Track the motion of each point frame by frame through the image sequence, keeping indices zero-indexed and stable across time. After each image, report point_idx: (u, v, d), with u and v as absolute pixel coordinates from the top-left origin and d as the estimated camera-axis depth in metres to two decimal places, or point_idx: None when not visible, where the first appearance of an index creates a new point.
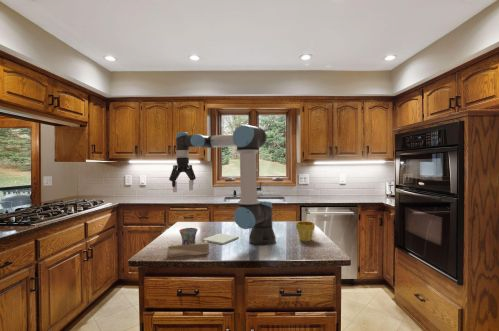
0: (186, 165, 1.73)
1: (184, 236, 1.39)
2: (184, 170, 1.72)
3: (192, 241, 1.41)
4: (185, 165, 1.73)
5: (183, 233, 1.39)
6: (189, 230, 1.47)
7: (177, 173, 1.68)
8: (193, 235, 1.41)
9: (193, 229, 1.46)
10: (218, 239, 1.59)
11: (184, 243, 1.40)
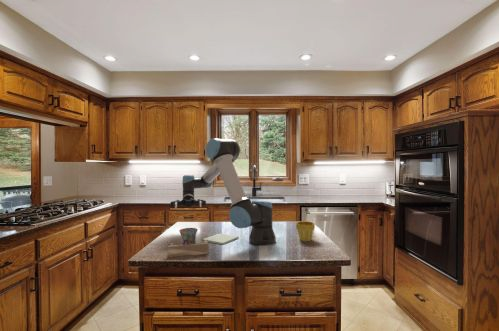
0: None
1: (184, 236, 1.39)
2: (189, 200, 1.66)
3: (192, 241, 1.41)
4: (190, 199, 1.70)
5: (183, 233, 1.39)
6: (189, 230, 1.47)
7: None
8: (193, 235, 1.41)
9: (193, 229, 1.46)
10: (218, 239, 1.59)
11: (184, 243, 1.40)
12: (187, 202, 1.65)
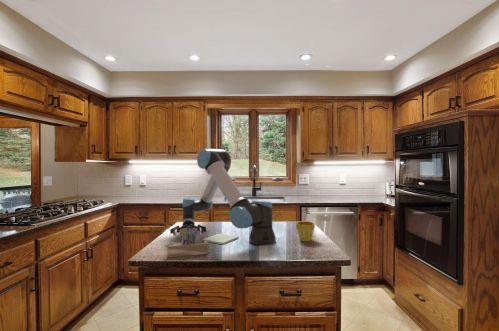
0: (191, 225, 1.68)
1: (184, 236, 1.39)
2: (189, 226, 1.64)
3: (192, 241, 1.41)
4: None
5: (183, 233, 1.39)
6: (189, 230, 1.47)
7: (179, 228, 1.62)
8: (193, 235, 1.41)
9: (193, 229, 1.46)
10: (218, 239, 1.59)
11: (184, 243, 1.40)
12: None
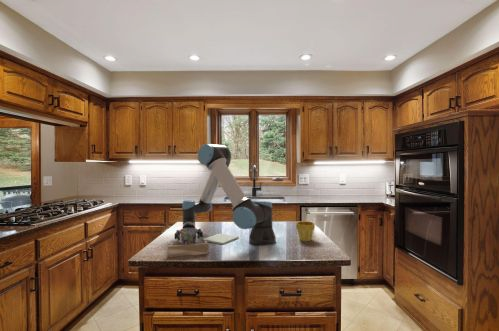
0: None
1: (184, 236, 1.39)
2: None
3: (192, 241, 1.41)
4: None
5: (183, 233, 1.39)
6: (189, 230, 1.47)
7: None
8: (193, 235, 1.41)
9: (193, 229, 1.46)
10: (218, 239, 1.59)
11: (184, 243, 1.40)
12: None
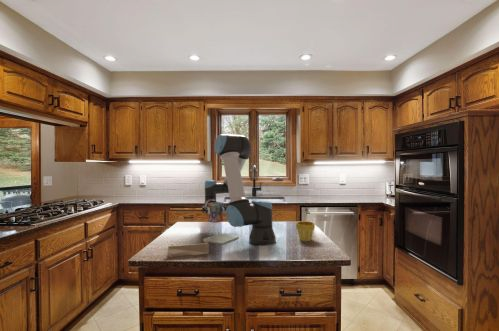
0: None
1: (212, 208, 1.55)
2: None
3: (219, 213, 1.56)
4: None
5: (212, 206, 1.54)
6: None
7: (207, 207, 1.65)
8: (220, 208, 1.56)
9: (219, 203, 1.62)
10: (218, 239, 1.59)
11: (212, 215, 1.55)
12: None
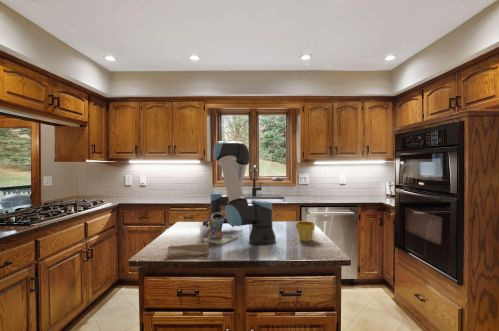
0: None
1: (213, 224, 1.58)
2: None
3: (219, 229, 1.59)
4: None
5: (212, 221, 1.58)
6: None
7: None
8: (221, 224, 1.60)
9: (220, 219, 1.65)
10: (218, 239, 1.59)
11: (212, 230, 1.59)
12: None
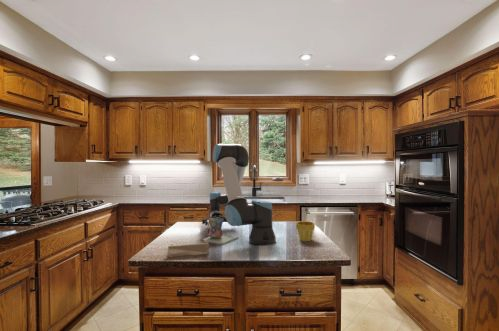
0: None
1: (212, 223, 1.59)
2: (218, 217, 1.76)
3: (219, 228, 1.60)
4: (219, 216, 1.79)
5: (212, 220, 1.59)
6: None
7: None
8: (220, 223, 1.60)
9: None
10: (218, 239, 1.59)
11: (212, 229, 1.59)
12: None
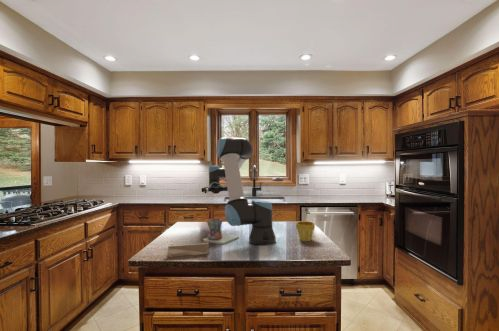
0: None
1: (211, 225, 1.58)
2: (217, 187, 1.84)
3: (218, 230, 1.59)
4: None
5: (210, 223, 1.57)
6: (214, 221, 1.65)
7: (209, 188, 1.81)
8: (219, 225, 1.59)
9: (218, 220, 1.65)
10: (218, 239, 1.59)
11: (211, 232, 1.58)
12: (215, 189, 1.83)
